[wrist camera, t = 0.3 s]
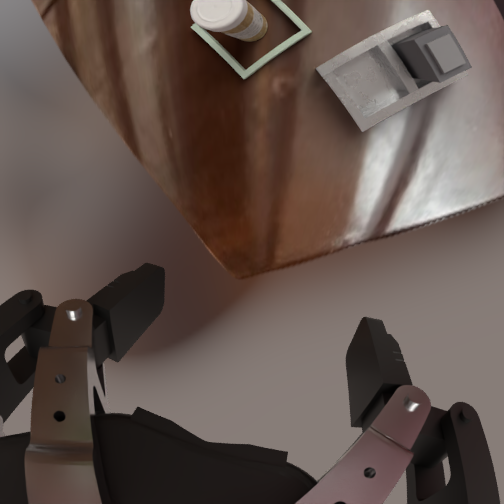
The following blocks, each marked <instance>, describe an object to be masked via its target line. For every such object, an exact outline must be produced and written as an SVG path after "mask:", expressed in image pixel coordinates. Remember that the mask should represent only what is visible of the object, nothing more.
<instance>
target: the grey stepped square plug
mask: <svg viewBox="0 0 504 504" xmlns="http://www.w3.org/2000/svg"><path fill="white" fill-rule="evenodd" d="M391 46H392V48H393V49H394V51H395V52H396V53H397V55H398V56H399V58H400V59H401V61H402V62H403V64H404V65H405V67H406V69H407V70H408V72H409V73H410V75H411V77H412V78H416V79H422V80H428V81H433V82H438V83H441V82H443V81H445V80H447V79H449V78H451V77H453V76H455V75H457V74H459V73H461V72H463V71H465V70H468V69H470V68H472V67H471V65H470V63H469V61H468V59H467V57H466V55H465V53H464V52H463V50H462V48H461V46H460V44H459V43H458V41H457V39H456V38H455V36H454V34H453V33H452V31H451V30H450V28H449V27H448V25H446V26H441V27H437V28H433V29H429V30H425V31H421V32H418V33H415V34H413V35H411V36H409V37H407V38H405V39H403V40H401V41H399V42H397V43H395V44H393V45H391Z"/></svg>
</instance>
